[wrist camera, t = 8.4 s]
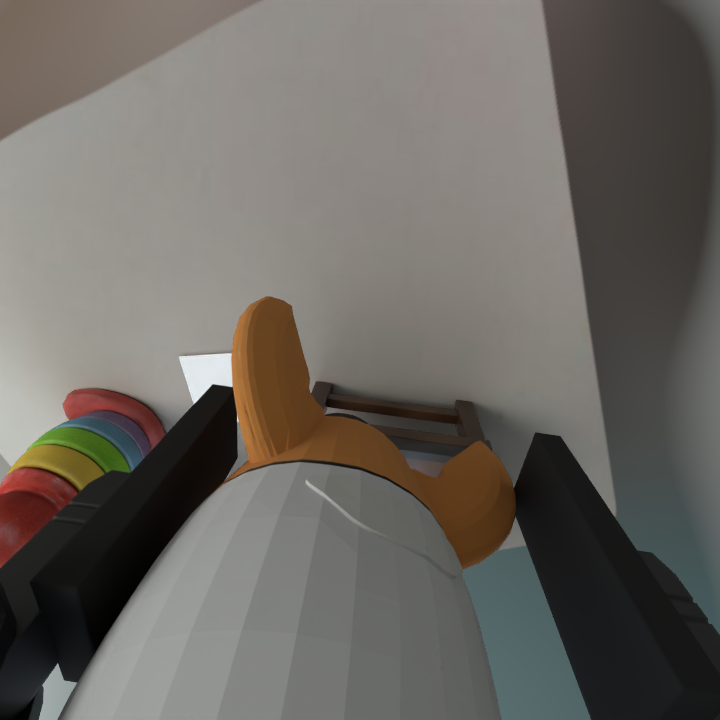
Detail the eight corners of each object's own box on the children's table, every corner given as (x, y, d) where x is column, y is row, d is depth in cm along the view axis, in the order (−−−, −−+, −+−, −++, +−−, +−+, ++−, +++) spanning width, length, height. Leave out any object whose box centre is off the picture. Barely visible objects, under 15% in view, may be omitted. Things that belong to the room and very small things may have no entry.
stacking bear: (64, 388, 41) (-149, 517, 25) (151, 385, 40) (-12, 517, 24) (99, 468, 46) (-63, 622, 29) (179, 467, 45) (57, 627, 28)
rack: (474, 400, 38) (497, 461, 29) (444, 512, 44) (456, 590, 36) (314, 379, 38) (291, 432, 30) (306, 493, 45) (286, 564, 36)
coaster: (200, 424, 42) (196, 428, 41) (178, 356, 38) (174, 359, 38) (271, 421, 41) (269, 425, 40) (255, 351, 37) (252, 354, 37)
